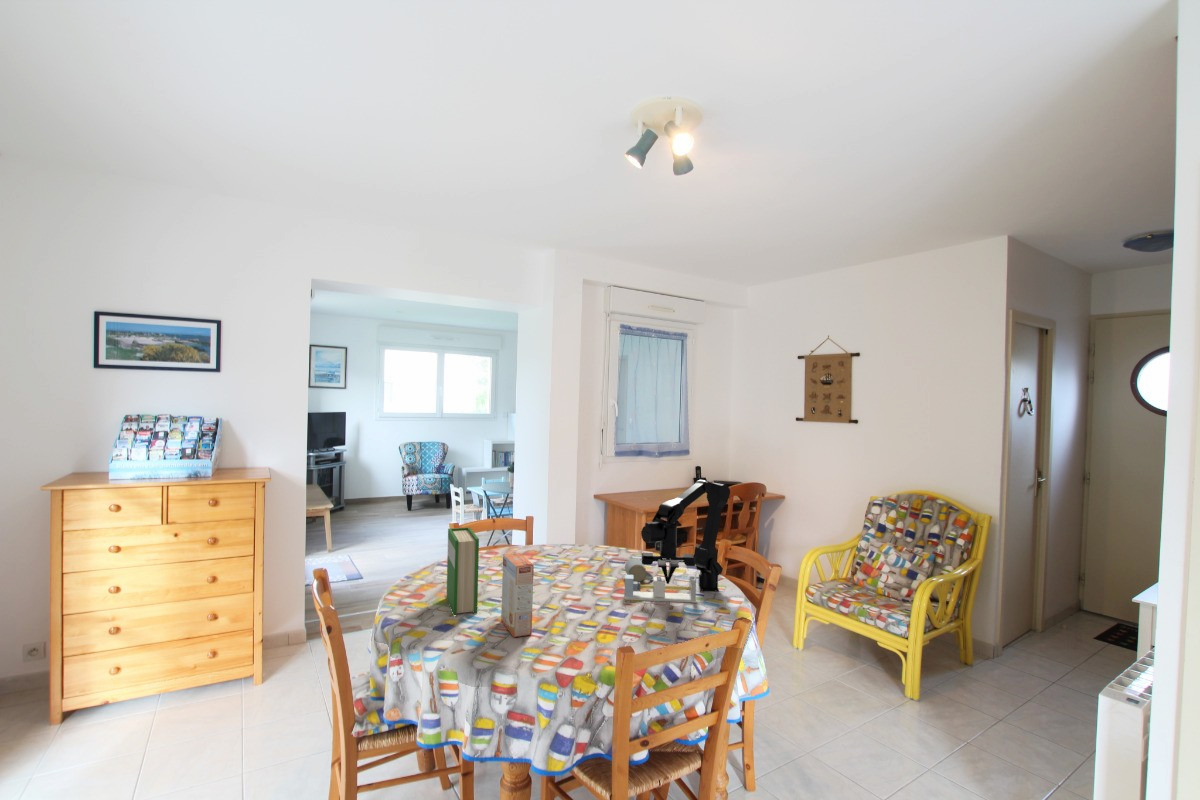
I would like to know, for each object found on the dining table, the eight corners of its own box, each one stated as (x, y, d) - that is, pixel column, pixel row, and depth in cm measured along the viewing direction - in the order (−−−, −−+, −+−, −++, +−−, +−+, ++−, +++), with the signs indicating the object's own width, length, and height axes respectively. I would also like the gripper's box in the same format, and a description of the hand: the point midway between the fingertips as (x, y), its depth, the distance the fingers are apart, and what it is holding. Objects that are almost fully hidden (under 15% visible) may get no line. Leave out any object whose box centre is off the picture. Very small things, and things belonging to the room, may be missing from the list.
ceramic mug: (628, 583, 206) (628, 563, 207) (624, 576, 215) (625, 557, 215) (655, 583, 208) (656, 563, 208) (650, 576, 216) (651, 557, 216)
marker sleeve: (664, 592, 194) (664, 576, 194) (664, 597, 189) (665, 581, 190) (652, 591, 195) (653, 576, 195) (653, 596, 190) (653, 580, 190)
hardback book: (477, 613, 174) (478, 538, 174) (453, 616, 171) (455, 540, 171) (468, 595, 190) (469, 527, 191) (446, 597, 187) (448, 528, 188)
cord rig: (694, 595, 195) (694, 574, 195) (696, 602, 188) (696, 581, 188) (624, 592, 196) (625, 572, 196) (624, 599, 189) (624, 578, 189)
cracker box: (533, 635, 158) (534, 563, 159) (513, 638, 156) (514, 566, 156) (519, 617, 171) (520, 551, 171) (500, 620, 169) (502, 553, 169)
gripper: (692, 535, 200) (691, 577, 199) (641, 533, 201) (640, 575, 200) (696, 542, 189) (695, 587, 188) (642, 540, 189) (641, 585, 189)
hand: (667, 583), depth 192 cm, fingers closed
